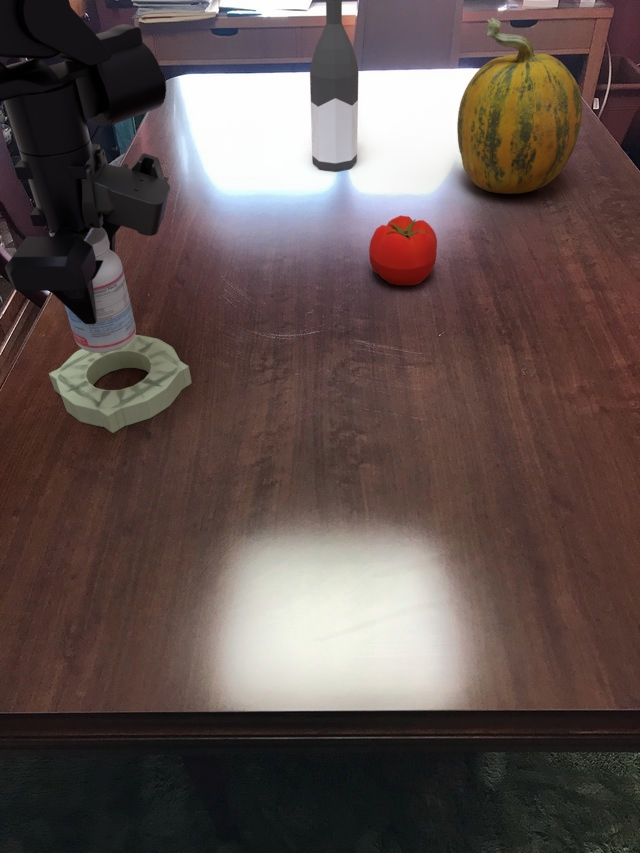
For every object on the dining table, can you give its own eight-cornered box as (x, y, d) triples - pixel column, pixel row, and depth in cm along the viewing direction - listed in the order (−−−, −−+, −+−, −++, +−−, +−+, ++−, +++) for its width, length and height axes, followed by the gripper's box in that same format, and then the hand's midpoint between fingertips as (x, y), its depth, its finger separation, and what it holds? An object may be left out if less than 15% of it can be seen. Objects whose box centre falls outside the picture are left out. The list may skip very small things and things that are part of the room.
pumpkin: (427, 184, 117) (442, 17, 100) (498, 154, 126) (523, -4, 109) (517, 221, 106) (551, 41, 89) (588, 185, 115) (630, 16, 98)
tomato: (389, 299, 91) (392, 247, 86) (358, 269, 97) (359, 219, 92) (449, 282, 94) (456, 231, 88) (415, 254, 100) (419, 204, 94)
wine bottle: (355, 153, 128) (358, -40, 107) (358, 171, 122) (362, -30, 101) (311, 155, 127) (306, -38, 107) (312, 172, 122) (307, -28, 101)
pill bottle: (71, 328, 71) (41, 227, 63) (130, 315, 73) (108, 215, 65) (80, 361, 67) (49, 257, 59) (142, 346, 69) (120, 243, 61)
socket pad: (110, 444, 71) (104, 426, 70) (40, 391, 78) (33, 374, 76) (206, 382, 79) (203, 365, 77) (134, 339, 85) (130, 322, 84)
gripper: (124, 191, 49) (162, 363, 60) (172, 103, 63) (197, 257, 74) (-28, 192, 50) (37, 363, 60) (53, 105, 64) (94, 257, 74)
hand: (99, 304), depth 67 cm, fingers closed on pill bottle, 6 cm apart
